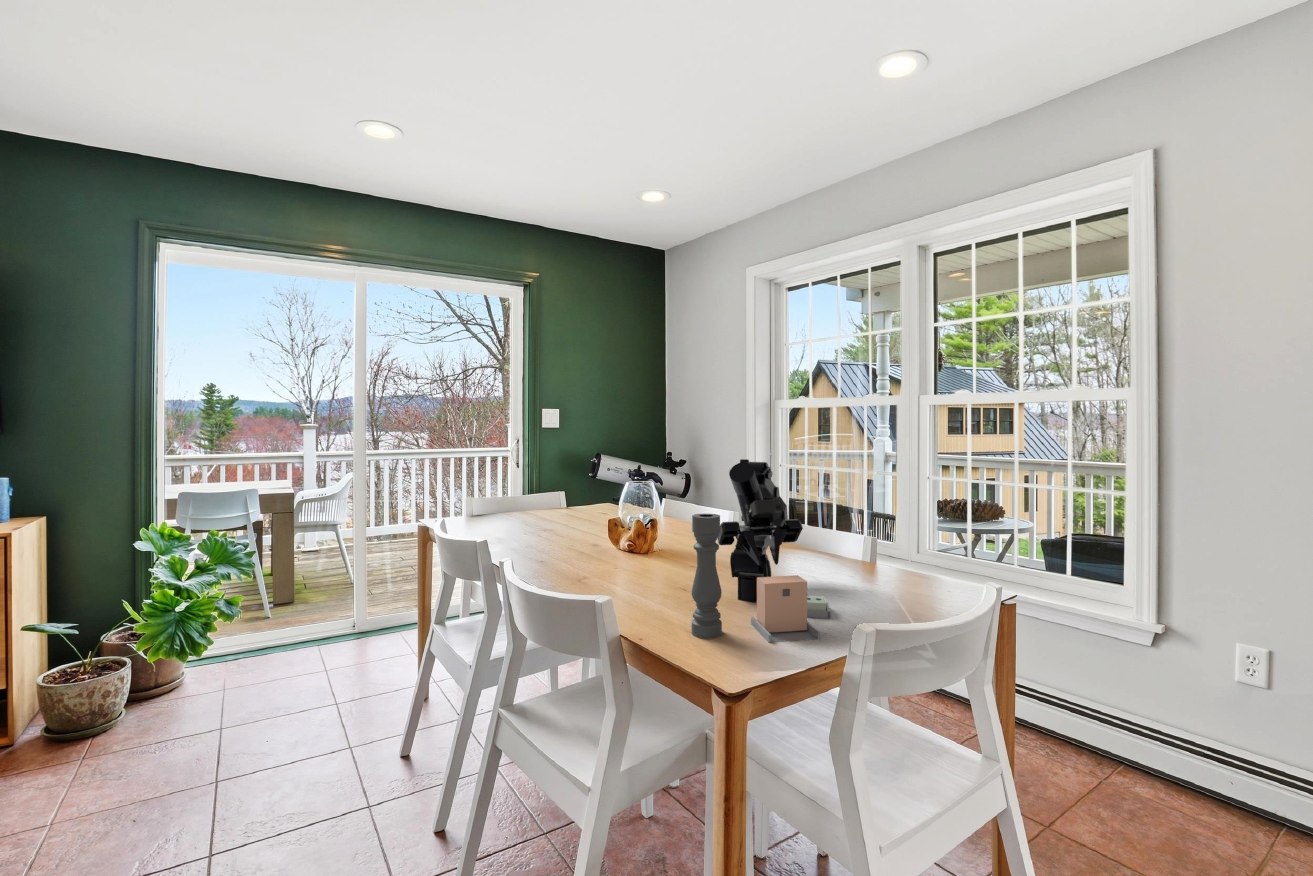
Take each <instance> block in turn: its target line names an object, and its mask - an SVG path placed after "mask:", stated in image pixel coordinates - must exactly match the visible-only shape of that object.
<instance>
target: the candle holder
mask: <svg viewBox="0 0 1313 876" xmlns="http://www.w3.org/2000/svg"><path fill="white" fill-rule="evenodd" d="M691 520H692V521H691V524H692V525H691V530H692V531H691V532H692V533H693V537H694V538H695V541H696V542H695V543H694V544H693V550H695V552H696V570H695V573H694V579H693V584H692V588H691V597H692V600H693V601H694V602H695V607H696V608H695V610H694V612H692V618H693V619H692V620H691V635H692V636H693V637H695V638H698V639H704V640H705V639H710V640H711V639H716V638H719V637H721V636H722V635H723V630H722V628H723V621H722V620H721V616H722V615H721V612H720V611H719V609H718V603H719V602H720V600H721V599H722V587H721V584H720V579H719V578H720V577H719V575H718V570H717V560H716V559H717V557H716V555H717V551H718V550H720V545H719V543H718V542H717V541H718V539H717V538H718V536H719V532H720V525H721V515H720V514H716V513H695V514H693V515H692V518H691Z"/></svg>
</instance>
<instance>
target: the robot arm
mask: <svg viewBox="0 0 1313 876" xmlns="http://www.w3.org/2000/svg"><path fill="white" fill-rule="evenodd" d="M728 472H729V474H728V475H729V479H730V481H731V484H732V486H733V490H734V492H735V494H736V497H737V501H738V505H739V507H740V511H741V517H740V519H741V522H743V523H744V524H740V522H739V521H722V522H720V532H719V536H718V538H717V544H718V545H719V546H730V545H731V546H732V545H733V544H734V542H735V539H736V544H735V545H734V546H735V548H734V550H733V551H732V552H731V554H730V559H729V561H730V562H729V563H730V570H731V571H730V573H731V578H737V600H738V601H744V602H749V603H757V577H772V568H771V562H770V560H769V556H768V554H767V550H768V548H769V550H770V551H769V552H770V554H771V557H772V560H773V563H774V564H775V566H777V565H778V564H779V559H780V550H781V549H780V546H781V545H783V543H784V544H786V543H796V541H798V539H799V537H800V536H801V533H802V531H803V530H804V527H803V524H802V522H801V520H800V519H798V518H795V519H793V518H792V519H789V518H788V517H789V516H788V507H787V504H786V502H785V500H783V499H782V497H781V496H780V488H779V486H776V485H775V484H774V482H773V481H772V477H773V471H772V468H771V467H770V466H769V464H768V462H766V461H750V460H749V458H748V459H747V458H746V459H745V458H743V459H740V460H739V463H736V464H734V465H733V466H731V468H730V469H729V471H728Z"/></svg>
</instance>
